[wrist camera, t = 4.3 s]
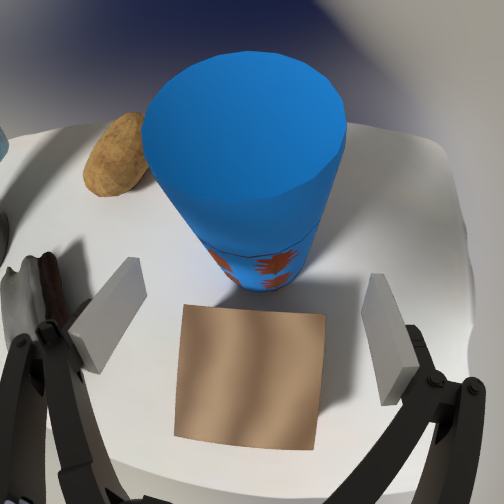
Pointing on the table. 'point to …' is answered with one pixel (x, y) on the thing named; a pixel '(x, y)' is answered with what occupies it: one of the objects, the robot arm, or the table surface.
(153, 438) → the table surface
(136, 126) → the potato
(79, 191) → the table surface
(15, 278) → the rock
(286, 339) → the small wooden stool
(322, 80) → the thermos
